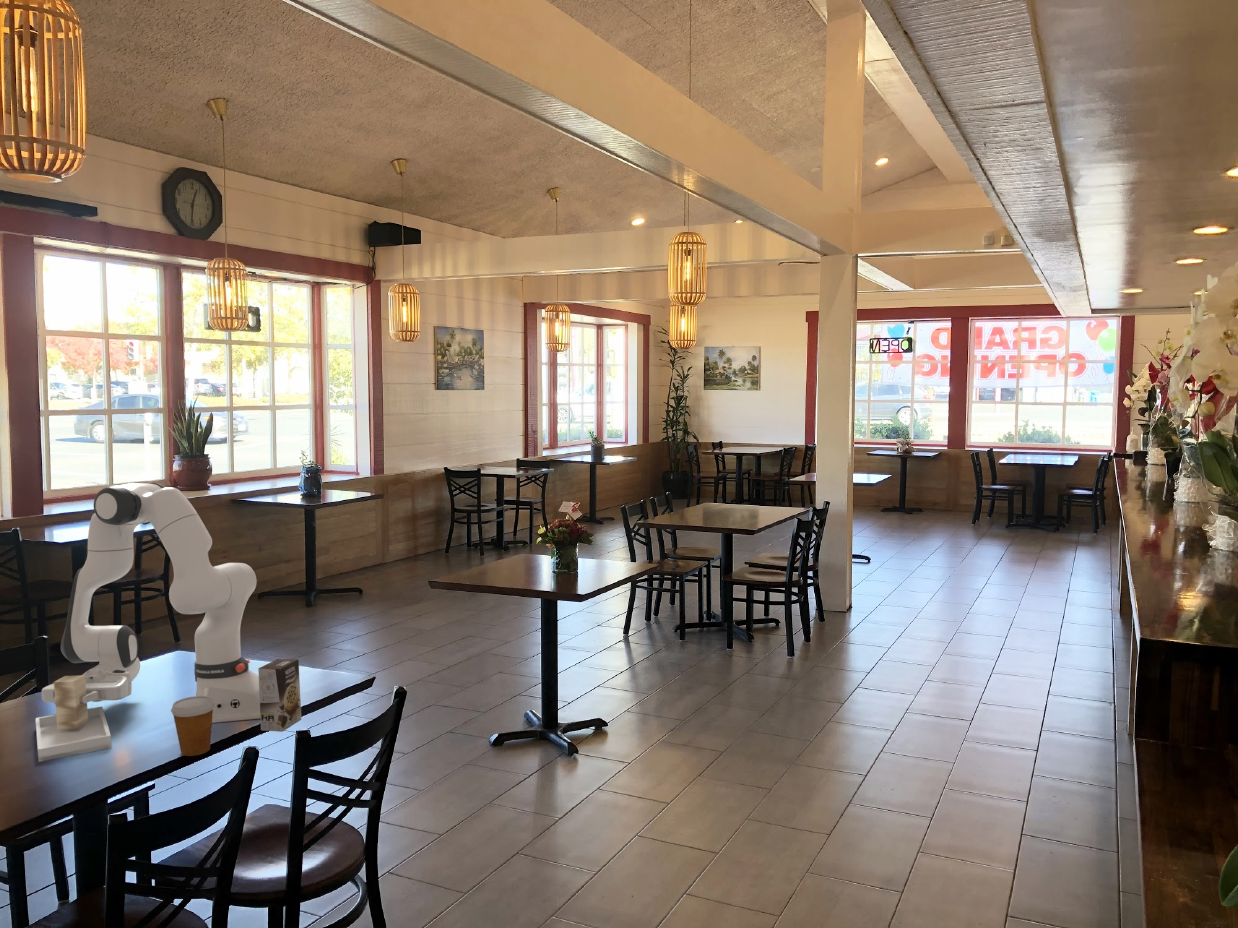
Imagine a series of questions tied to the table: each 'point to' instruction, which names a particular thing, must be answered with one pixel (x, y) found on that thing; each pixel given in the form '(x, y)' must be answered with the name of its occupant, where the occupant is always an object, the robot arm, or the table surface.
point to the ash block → (70, 702)
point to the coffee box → (279, 694)
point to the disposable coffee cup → (193, 724)
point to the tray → (72, 736)
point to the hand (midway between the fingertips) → (69, 700)
